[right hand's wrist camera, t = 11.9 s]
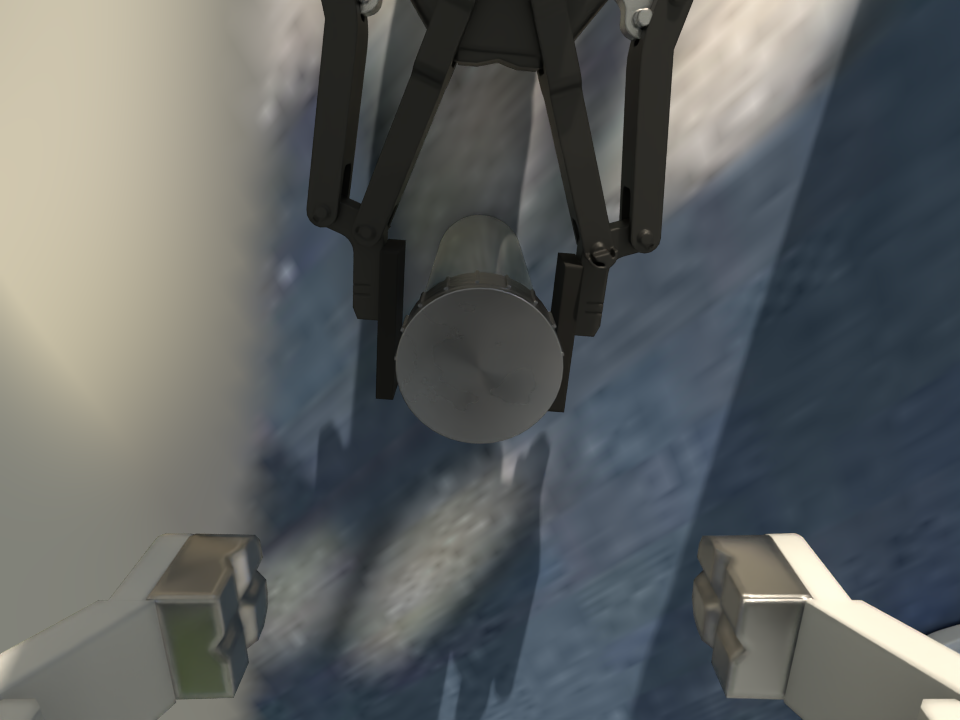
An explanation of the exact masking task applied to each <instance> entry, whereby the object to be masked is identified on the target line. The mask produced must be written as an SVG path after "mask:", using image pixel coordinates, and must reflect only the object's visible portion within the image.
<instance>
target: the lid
mask: <svg viewBox="0 0 960 720" xmlns="http://www.w3.org/2000/svg"><path fill="white" fill-rule="evenodd" d="M555 328H556V324H555V321H554V318H553V316H552V313H551V311H550V312H548V311H547V309H546V308H545V306H544V305H543V303H542V302H541V301H540V300H539V298H538V297H537V296H536V294H535V291H534V290H533V289H531V290H529V289H528V288H527V287H525V286H524V285H522V284H521V283H519V282H517V281H515V280H513V279H511V278H509V275H505V276H502V275H499V274H494V273H486V272H479V270H476V272H473V273H465V274H460V275H456V276H454V277H451V278H450V276H447V277H446V280H444V281H442V282H440V283H438V284H437V285H435V286H434V287H432V288H431V289H430V290H428V291H427V292H426V293H425V292H423V293H422V294H421V297H420V299H419V301H418V302H417V303H416V305H415V306H414V308H413V309H412V311H411V313H410V315H406V317H405V320H404V323H403V325H402V328H401V331H402V332H403V333H402V336H401V339H400V342H399V345H398V349H397V352H396V354H395V360H396V376H397V382H398V385H399V389H400V392H401V394H402V396H403V399H404V400H405V402H406V404H407V405H408V407H409V408H410V410H411V411H412V412H413V413H414V415H415V416H416V417H417V418H418V419H419V420H420V421H421V422H422V423H423V424H425V425H426V426H427V427H429V428H430V429H431V430H433V431H435V432H437V433H438V434H440V435H443V436H445V437H447V438H450V439H453V440H456V441H460V442H466V443H478V444H482V443H493V442H498V441H503V440H506V439H509V438H512V437H514V436H516V435H518V434H521V433H522V432H524V431H526V430H527V429H529V428H530V427H532V426H533V425H534V424H535V423H537V422H538V421H539V420H540V419H541V418H542V417H543V416H544V415H545V413H546V412H547V411H548V409H549V408H550V407H551V405H552V403H553V402H554V400H555V398H556V396H557V394H558V391H559V389H560V385H561V381H562V375H563V356H564V352H563V349H562V346H561V343H560V340H559V338H558V336H557V334H556V331H555Z"/></svg>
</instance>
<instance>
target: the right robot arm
mask: <svg viewBox="0 0 960 720" xmlns="http://www.w3.org/2000/svg"><path fill="white" fill-rule="evenodd" d="M262 558H263V555H262V549H261V544H260V540H259V538H258V537H257V536H256V535H233V534H163V535H161V536H158V537H157V538H156V539H155V541H154V542H153V543H152V545H151V546H150V547H149V548H148V550H147V551H146V552H145V554H144V555H143V556H142V557H141V559H140V560H139V561H138V563H137V564H136V565H135V566H134V568H133V569H132V570H131V572H130V573H129V574H128V575H127V577H126V578H125V579H124V581H123V582H122V583H121V584H120V586H119V587H118V588H117V590H116V591H115V592H114V593H113V595H112V596H111V597H110V599H109V600H98V601H96V602H94V603H93V604H91V605H89V606H87V607H85V608H83V609H82V610H80V611H78V612H76V613H74V614H72V615H71V616H69V617H67V618H65V619H63V620H61V621H60V622H58V623H56V624H54V625H52V626H50V627H49V628H47V629H45V630H43V631H41V632H39V633H38V634H36V635H34V636H32V637H30V638H28V639H27V640H25V641H23V642H21V643H19V644H17V645H16V646H14V647H12V648H10V649H8V650H6V651H5V652H3V653H1V654H0V720H157V719H158V718H160V717H161V716H162V715H163V714H164V713H165V712H166V711H167V710H169V709H170V708H171V707H172V706H173V705H174V704H175V703H176V699H208V698H234V695H235V693H236V691H237V689H238V686H239V684H240V682H241V679H242V677H243V675H244V672H245V670H246V668H247V665H248V663H249V661H248V654H247V648H248V647H250V646H251V645H252V644H254V643H255V642H256V641H258V639H259V637H260V634H261V632H262V629H263V627H264V623H265V618H266V612H267V604H268V591H267V583H266V579H265V578H264V577H263V576H262V575H261V574H260V573H259V572H258V571H257V568H258V566H259V564H260V562H261V560H262ZM697 558H698V560H699V562H700V564H701V566H702V568H703V571H702V572H701V573H700V574H699V575H698V576H697V577H696V578H695V579H694V584H693V594H692V602H693V615H694V619H695V623H696V627H697V629H698V632H699V634H700V637H701V639H702V641H704V642H705V643H706V644H708V645H709V646H710V647H712V648H713V654H712V661H711V663H712V665H713V668H714V670H715V672H716V675H717V677H718V679H719V681H720V684H721V686H722V688H723V691H724V693H725V695H726V698H751V699H784V703H785V704H786V705H787V706H789V707H790V708H791V709H792V710H793V711H794V712H795V713H796V714H797V715H798V716H800V717H801V718H802V719H803V720H960V624H959V625H955V626H952V627H948V628H945V629H942V630H939V631H936V632H933V633H931V634H929V635H927V636H926V635H924V634H922V633H920V632H919V631H917V630H915V629H913V628H911V627H909V626H908V625H906V624H904V623H902V622H900V621H899V620H897V619H895V618H893V617H891V616H889V615H888V614H886V613H884V612H882V611H880V610H878V609H877V608H875V607H873V606H871V605H869V604H867V603H866V602H864V601H862V600H851V599H850V597H849V596H848V595H847V594H846V592H845V591H844V590H843V588H842V587H841V586H840V585H839V583H838V582H837V581H836V579H835V578H834V577H833V576H832V574H831V573H830V572H829V570H828V569H827V568H826V567H825V565H824V564H823V563H822V561H821V560H820V559H819V558H818V556H817V555H816V554H815V552H814V551H813V550H812V549H811V547H810V546H809V545H808V544H807V542H806V541H805V540H804V538H803V537H802V536H800V535H798V534H796V533H786V534H765V535H719V536H702V538H701V541H700V543H699V548H698V555H697Z"/></svg>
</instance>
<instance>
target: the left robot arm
mask: <svg viewBox="0 0 960 720" xmlns="http://www.w3.org/2000/svg"><path fill="white" fill-rule="evenodd" d="M410 1H411V2H412V4H413V6H414V8H415V9H416V11H417V13H418V15H419V16H420V18H421V20H422V22H423V23H424V25H425V27H426V29H427V31H426V34H425V36H424V39H423V41H422V44H421V47H420V49H419V52H418V54H417V57H416V60H415V63H414V66H413V70H412V74H411V77H410V79H409V82H408V85H407V87H406V90H405V92H404V95H403V97H402V100H401V103H400V105H399V108H398V110H397V113H396V116H395V118H394V121H393V123H392V126H391V128H390V131H389V134H388V136H387V139H386V141H385V144H384V147H383V149H382V152H381V154H380V157H379V159H378V162H377V165H376V167H375V170H374V172H373V175H372V178H371V180H370V183H369V185H368V188H367V191H366V193H365V196H364V198H363V201H362V203H361V204H360V203H358V202H356V201H354V200H352V199H349V197H350V189H351V180H352V172H353V164H354V155H355V147H356V138H357V130H358V122H359V113H360V105H361V96H362V88H363V80H364V71H365V63H366V55H367V45H368V19H367V16H371V15H374V14H376V13H377V12H378V11H379V9H380V8H381V5H382V0H321V2H322V6H323V11H324V15H325V25H324V35H323V46H322V56H321V66H320V77H319V87H318V97H317V107H316V118H315V128H314V138H313V149H312V159H311V169H310V179H309V190H308V200H307V216H308V218H309V220H310V221H311V222H312V223H313V224H314V225H316V226H318V227H327V228H329V229H331V230H334V231H336V232H338V233H340V234H342V235H344V236H345V237H347V238H348V239H349V241H350V242H351V244H352V247H353V252H354V265H353V309H354V311H355V314H356V316H357V319H367V320H378V335H377V372H376V399H390V400H393V398H394V395H395V391H396V388H397V385H398V382H397V376H396V360H395V354H396V352H397V349H398V345H399V342H400V339H401V336H402V331H401V328H402V316H403V292H404V267H405V243H406V240H395V239H388V230H389V228H390V227H391V226H390V224H391V222H392V219H393V217H394V214H395V212H396V209H397V207H398V205H399V202H400V200H401V197H402V195H403V192H404V190H405V187H406V185H407V182H408V180H409V177H410V175H411V173H412V170H413V168H414V165H415V163H416V160H417V158H418V155H419V153H420V150H421V148H422V146H423V143H424V141H425V138H426V136H427V133H428V131H429V128H430V126H431V123H432V121H433V118H434V116H435V114H436V111H437V109H438V106H439V104H440V101H441V99H442V96H443V94H444V91H445V89H446V87H447V85H448V83H449V81H450V79H451V76H452V74H453V71H454V69H455V66H456V64H457V63H458V65H465V66H476V67H478V66H483V65H488V64H493V63H500V64H502V65H505V66H507V67H510V68H513V69H515V70H521V71H533V72H536V71H537V74H538V79H539V83H540V88H541V91H542V94H543V97H544V101H545V105H546V109H547V114H548V118H549V123H550V127H551V132H552V136H553V141H554V145H555V150H556V154H557V159H558V163H559V168H560V172H561V176H562V181H563V185H564V190H565V194H566V199H567V203H568V208H569V212H570V217H571V221H572V226H573V230H574V235H575V239H576V244H577V252H576V255H575V254H569V253H558V258H557V266H556V274H555V282H554V290H553V298H552V306H551V313H552V316H553V318H554V321H555V324H556V328H555V331H556V334H557V336H558V338H559V340H560V343H561V346H562V349H563V352H564V356H563V375H562V381H561V385H560V389H559V391H558V394H557V396H556V398H555V400H554V402H553V403H552V405H551V407H550V408H549V409H548V411H553V412H564V408H565V400H566V393H567V386H568V379H569V372H570V364H571V357H572V350H573V343H574V336H575V335H578V336H591V337H594V335H595V334H596V332H597V330H598V329H599V327H600V323H601V316H602V310H603V303H604V297H605V290H606V284H607V277H608V272H609V268H610V267H611V266H612V265H613V264H614V263H615V262H616V260H617V259H618V258H621V257H623V256H627V255H630V254H634V253H638V252H640V253H649V252H652V251H653V250H655V249H656V248H657V246H658V245H659V243H660V239H661V228H662V213H663V198H664V184H665V169H666V155H667V140H668V125H669V111H670V96H671V82H672V67H673V53H674V48H675V45H676V43H677V40H678V38H679V35H680V33H681V30H682V28H683V25H684V23H685V20H686V18H687V15H688V12H689V10H690V7H691V5H692V2H693V0H614V1H615V2H616V3H617V4H618V6H619V8H620V12H621V17H620V30H621V32H622V34H623V35H624V36H625V37H626V38H628V39H629V40H631V43H630V48H629V52H628V57H627V67H626V86H625V108H624V130H623V151H622V173H621V195H620V217H619V221H616V222H613V223H609V220H608V215H607V211H606V206H605V201H604V196H603V191H602V186H601V181H600V176H599V171H598V166H597V162H596V157H595V152H594V147H593V142H592V137H591V132H590V127H589V122H588V117H587V112H586V108H585V103H584V98H583V93H582V80H581V73H580V68H579V63H578V58H577V53H576V48H575V43H574V41H575V40H576V39H577V37H578V36H579V35H580V34H581V32H582V31H583V30H584V29H585V28H586V26H587V25H588V24H589V23H590V21H591V20H592V19H593V18H594V17H595V15H596V14H597V13H598V12H599V10H600V9H601V8H602V7H603V6H604V4H605V3H606V2H607V1H608V0H410Z"/></svg>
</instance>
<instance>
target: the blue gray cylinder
mask: <svg viewBox="0 0 960 720" xmlns="http://www.w3.org/2000/svg"><path fill="white" fill-rule="evenodd" d="M476 270H479V272H486V273H494V274H499V275H502V276H505V275H509V278H511V279H513V280H515V281H517V282H519V283H521V284H522V285H524V286H525V287H527V288H528V289H529V290H531V289H533V286H532V283H531V280H530V276H529V273H528V270H527V267H526V263H525V260H524V257H523V254H522V250H521V247H520V244H519V241H518V239H517V237H516V235H515V233H514V232H513V231H512V229H511V228H510V227H509V226H508V225H506V224H505V223H504V222H502V221H501V220H499V219H497V218H495V217H492V216H487V215H472V216H468V217H465V218H462V219H460V220H458V221H457V222H455V223H454V224H453V225H452V226H451V227H449V229H448V230H447V231H446V232H445V234H444V235H443V237H442V239H441V242H440V245H439V248H438V251H437V254H436V258H435V261H434V264H433V267H432V270H431V274H430V277H429V280H428V283H427V287H426V290H425V293H426V292H427V291H428V290H430V289H431V288H432V287H434V286H435V285H437V284H438V283H440V282H442V281H444V280H446V277H447V276H450V278H451V277H454V276H456V275H460V274H465V273H473V272H476ZM533 290H534V289H533Z"/></svg>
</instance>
